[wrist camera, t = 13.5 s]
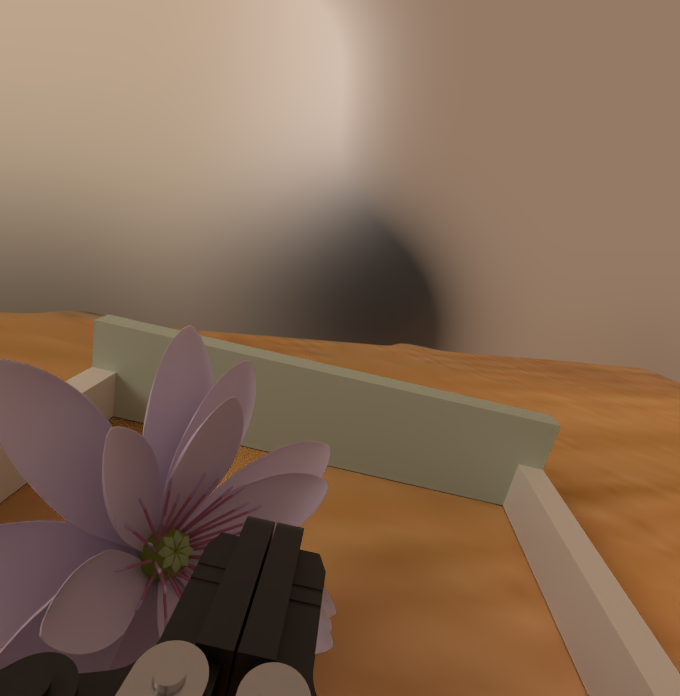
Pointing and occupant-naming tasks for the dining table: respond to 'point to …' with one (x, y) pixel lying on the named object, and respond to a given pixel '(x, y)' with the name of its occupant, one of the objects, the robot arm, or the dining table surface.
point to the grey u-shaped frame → (414, 474)
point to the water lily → (134, 505)
